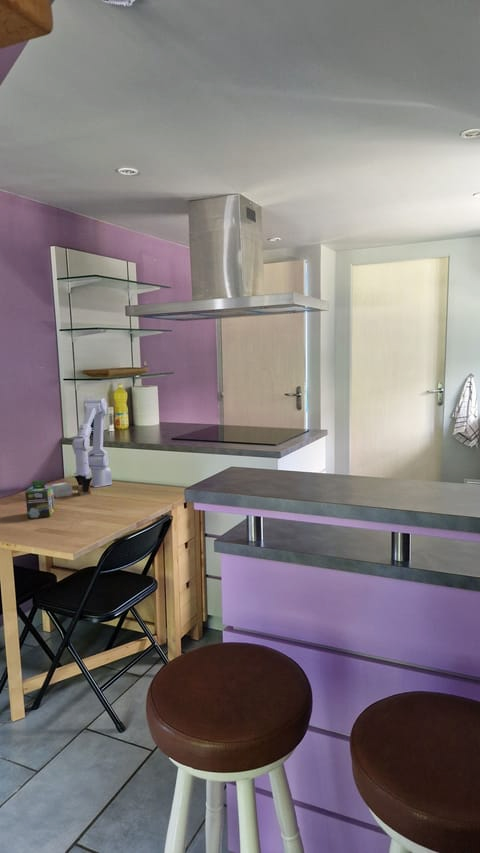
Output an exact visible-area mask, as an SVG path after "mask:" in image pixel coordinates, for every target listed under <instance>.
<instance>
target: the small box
mask: <svg viewBox="0 0 480 853" xmlns="http://www.w3.org/2000/svg"><path fill="white" fill-rule="evenodd" d="M52 485H53V494H54V498H63V497H68V496H72V495H74V494H73V485H72V484H71V483H68V482H66V481H65V482H61V483H55V484H52Z"/></svg>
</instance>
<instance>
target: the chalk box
mask: <svg viewBox="0 0 480 853" xmlns="http://www.w3.org/2000/svg"><path fill="white" fill-rule="evenodd" d="M31 483H32V486H31V487H29V488H28V489H26V491H25V492H24V494H25V495H24V496H25V503H26V511H27V519H38V518H39V519H41V518H51V516H52V515H53V514H54V513H55V511H56V506H55V505H56V504H55V496H54V494H53V484H50V485H49V484H47V485H45V481H44V480H32V481H31ZM37 484H40V485H37Z"/></svg>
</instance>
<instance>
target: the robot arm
mask: <svg viewBox="0 0 480 853" xmlns="http://www.w3.org/2000/svg"><path fill="white" fill-rule="evenodd" d="M83 406H84V408H83V409H84V411H85V413H84V418H83V423H82V424H80V425H79V428H78V432H77V434H76V438H74V439H73V440H72V443H71V444H72V449H73V453H74V455H75V456H74V457H75V468H76V470H75V472H74V473H73V475H74V478H75V480H76V481H77V484H78V485H77V486H79V485H82V487H83V491H84V492H88V491H89V486H90V487H92V488H101V487H106V486H112V485H113V480H112V471H111V468H110V467H109V466H108V465H109V464H110V458H109V453H108V451H106V449H104V429H105V426H104V425H105V424H104V423H105V416H106V415H107V412H108V411H107V410H108V403H107V400H106V398H105V397H103V398H86V399H85V400H84V404H83ZM92 423H93V428H92V426H91V425H92ZM92 431H93V433H92ZM91 434H93V435H92V449H91V450H89V448H90V444H91V443H90V441H91V438H90V436H91Z"/></svg>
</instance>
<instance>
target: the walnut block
mask: <svg viewBox="0 0 480 853" xmlns="http://www.w3.org/2000/svg"><path fill="white" fill-rule="evenodd" d="M91 492H92V491H91V485H90V486H89V491H88V492H84V491H83V487H82V485H77V493H78V495H80V496H81V497H83V496H86V495H87V496H88V495H91Z"/></svg>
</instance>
